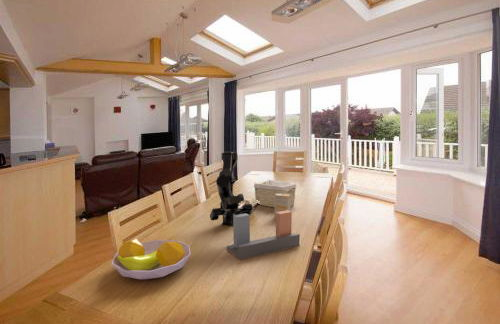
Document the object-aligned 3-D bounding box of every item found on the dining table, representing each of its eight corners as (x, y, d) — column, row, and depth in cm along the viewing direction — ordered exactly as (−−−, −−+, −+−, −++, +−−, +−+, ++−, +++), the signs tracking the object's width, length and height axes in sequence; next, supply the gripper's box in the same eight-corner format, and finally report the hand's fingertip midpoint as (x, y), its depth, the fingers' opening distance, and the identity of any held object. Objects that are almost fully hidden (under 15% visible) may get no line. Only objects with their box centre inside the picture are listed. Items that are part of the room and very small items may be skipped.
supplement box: (291, 217, 165) (291, 194, 163) (287, 219, 161) (287, 196, 159) (278, 215, 169) (278, 192, 168) (274, 217, 165) (274, 194, 164)
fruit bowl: (162, 248, 124) (161, 222, 122) (206, 266, 107) (205, 236, 105) (93, 274, 102) (90, 242, 101) (134, 302, 85) (132, 265, 84)
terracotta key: (275, 241, 126) (275, 212, 125) (286, 238, 129) (286, 210, 128) (279, 244, 123) (279, 214, 122) (291, 241, 126) (291, 212, 125)
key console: (226, 247, 123) (226, 236, 123) (282, 236, 136) (282, 225, 136) (239, 259, 112) (239, 247, 111) (299, 245, 125) (299, 234, 124)
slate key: (233, 245, 122) (232, 215, 121) (246, 242, 125) (245, 213, 124) (236, 248, 119) (236, 217, 118) (249, 245, 122) (249, 215, 121)
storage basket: (252, 204, 194) (252, 182, 193) (267, 199, 207) (267, 179, 205) (283, 210, 179) (283, 186, 177) (297, 205, 191) (297, 182, 189)
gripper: (211, 190, 123) (221, 222, 114) (250, 185, 132) (263, 216, 123) (205, 204, 131) (215, 236, 122) (243, 199, 139) (254, 229, 131)
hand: (237, 229), depth 124 cm, fingers closed
